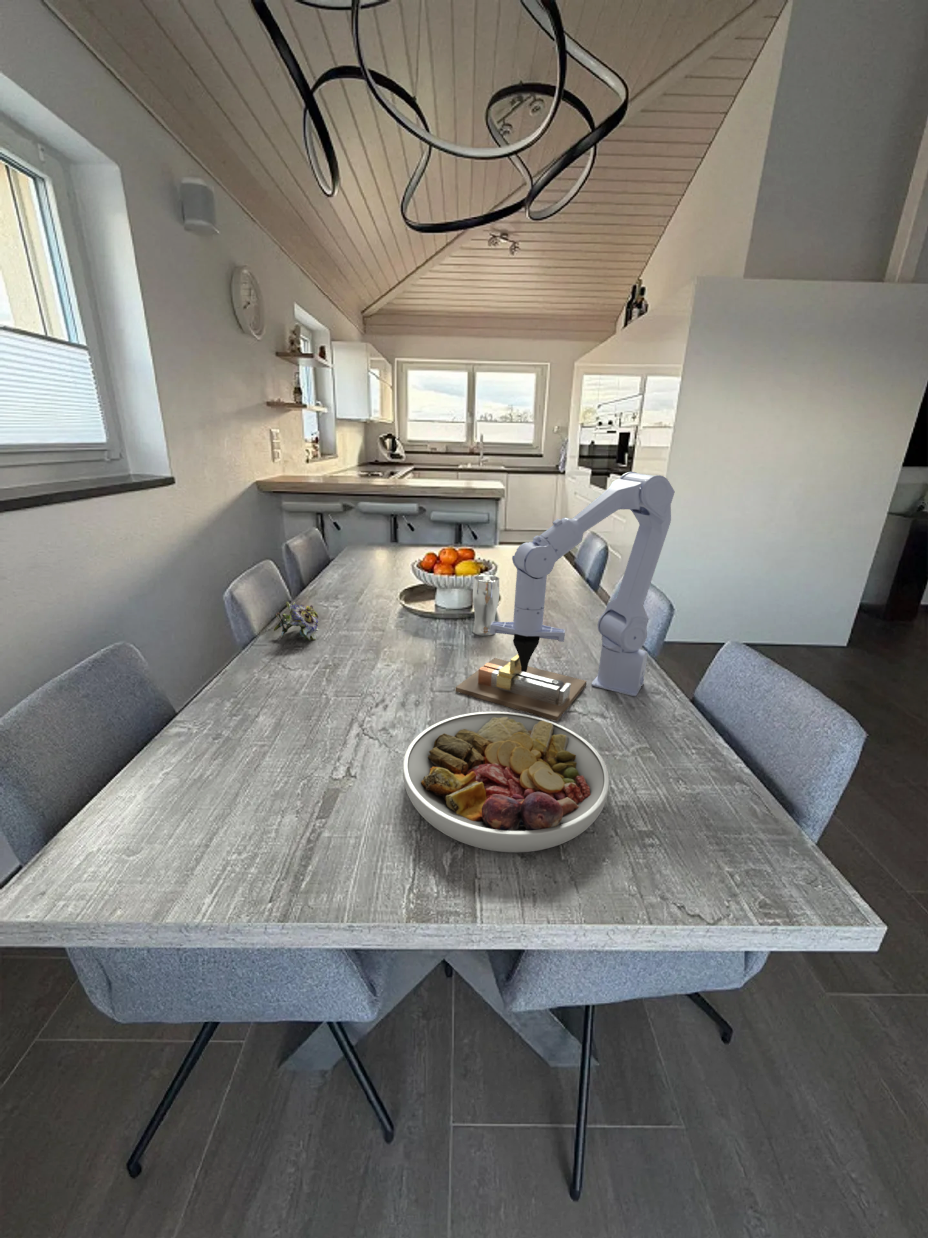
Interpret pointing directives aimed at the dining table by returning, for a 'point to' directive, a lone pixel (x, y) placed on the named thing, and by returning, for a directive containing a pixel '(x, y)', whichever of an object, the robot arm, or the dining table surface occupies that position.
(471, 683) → the walnut board
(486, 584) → the beer glass
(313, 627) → the passion flower
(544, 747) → the bowl
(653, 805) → the dining table surface
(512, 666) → the brass ring
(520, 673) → the hinged tong arm
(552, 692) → the fixed tong arm
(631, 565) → the robot arm
